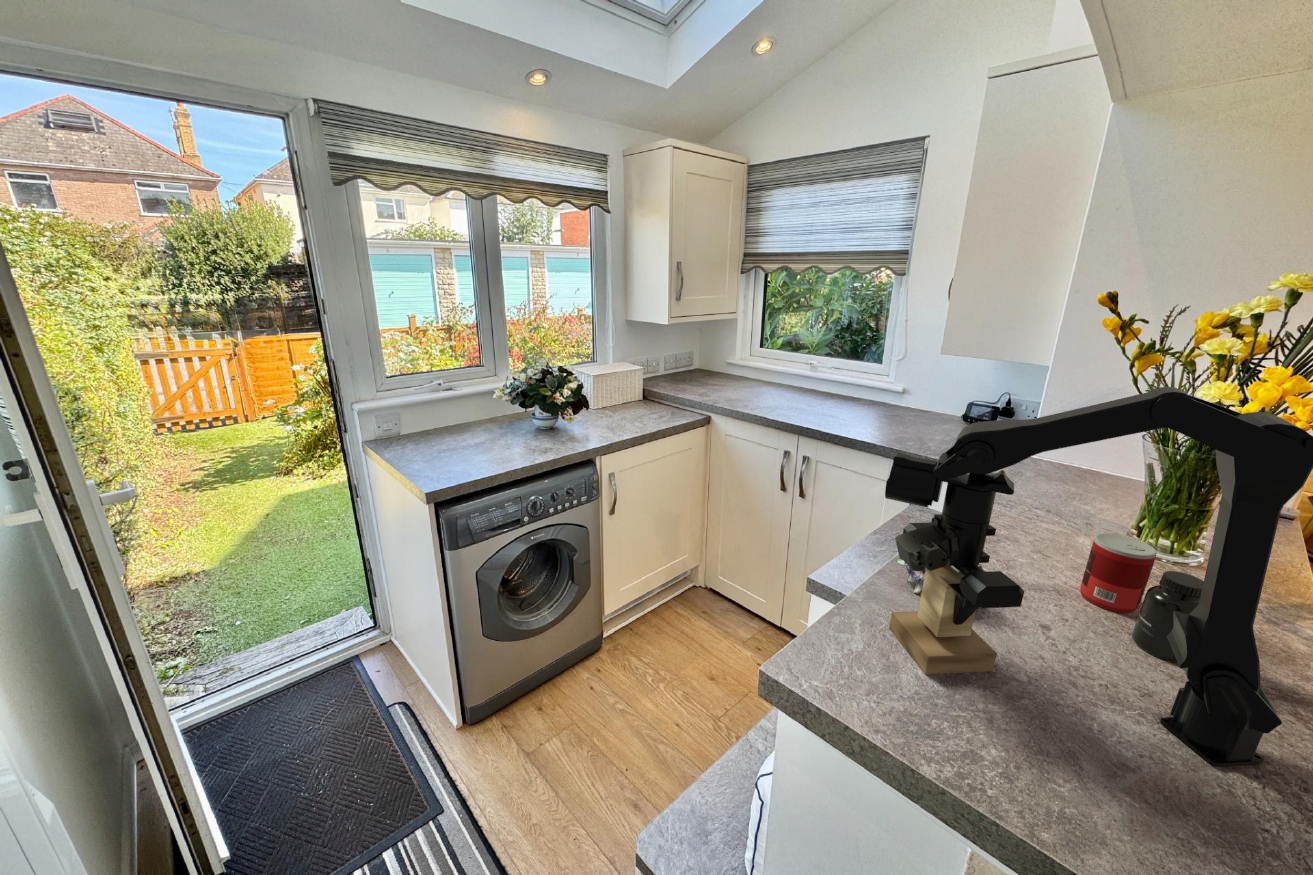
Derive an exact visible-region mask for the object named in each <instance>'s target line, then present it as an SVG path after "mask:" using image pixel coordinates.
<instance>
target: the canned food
mask: <svg viewBox="0 0 1313 875" xmlns="http://www.w3.org/2000/svg"><path fill="white" fill-rule="evenodd" d="M1157 553H1158V552H1157V550H1156V548H1155V547H1153V546H1151V545H1150V544H1148V543H1146V542H1144V541H1142V540H1139V539H1136V538H1132V537H1130V536H1126V535H1121V534H1117V533H1115V534H1114V533H1098V534H1096V535H1095V537H1094V539H1093V542H1092V545H1091V549H1090V551H1089V555H1088V558H1087V563H1086V566H1085V569H1084V573H1083V577H1082V580H1081V582H1080V583H1081V584H1080V587H1079V589H1080V590H1079V591H1080V595H1081V596H1082V598H1084V599H1085V600H1086V601H1087V602H1089V603H1090V604H1092V605H1094V606H1096V607H1098V608H1102V609H1104V610H1107V611H1111V612H1114V613H1120V614H1122V613H1123V614H1130V613H1131V614H1132V613H1135V612H1136V611H1137V609H1138V608H1139V607H1141V606H1140V605H1141V602H1142V600H1143V596H1144V594H1145V591H1146V588H1147V585H1148V581H1149V578H1150V577H1151V576H1150V575H1151V572H1152V571H1153V567H1154V564H1155V561H1156V558H1157Z"/></svg>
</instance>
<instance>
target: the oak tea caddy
mask: <svg viewBox="0 0 1313 875" xmlns="http://www.w3.org/2000/svg"><path fill="white" fill-rule="evenodd" d="M925 569H926V568H925ZM964 576H965V575H963V574H962V573H961V572H957V571H956V570H954V569H953V568H952V567H951V566H949V565H946V566H944V567H941V568H938V569H935V570H932V571H929V570H927V569H926V572H925V578H924V583H923V588H922V592H921V593H920V599H919V606H918V609H917V611H918V617H919V618H920V619H921V620H922V621H923V622H924V623H925V624H926V626H927V627H928V628H929V629H930V630H931V631H932V632H933V633H934V634H935V636H936V637H951V636H970V635H971V630H972V629H973V625H974V622H975V616H976V612H977V610H976V611H975V612H974V613H973V614H972V615H971V616H970V617H969V618H968V619H967V620H966V621H965V622H964V623H963V624H961V625H955V624H954V623H953V612H954V604H955V595H956V594H955V592H954V591H953V590H952V589H951V588H950V586H949V585H948V584H959V583H960V581H961V578H962V577H964Z"/></svg>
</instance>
